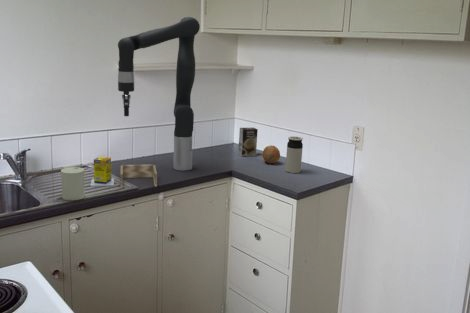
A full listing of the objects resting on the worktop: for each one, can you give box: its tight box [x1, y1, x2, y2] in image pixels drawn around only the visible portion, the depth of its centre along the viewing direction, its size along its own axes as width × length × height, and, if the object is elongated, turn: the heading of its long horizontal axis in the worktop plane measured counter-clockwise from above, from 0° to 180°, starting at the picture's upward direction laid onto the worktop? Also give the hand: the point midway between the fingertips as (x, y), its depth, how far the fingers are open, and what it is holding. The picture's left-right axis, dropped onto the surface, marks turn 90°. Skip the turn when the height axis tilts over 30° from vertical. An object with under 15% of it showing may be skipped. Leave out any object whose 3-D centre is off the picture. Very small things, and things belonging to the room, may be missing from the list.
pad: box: [90, 177, 115, 188], centre depth 220 cm, size 10×10×1 cm
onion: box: [261, 145, 281, 164], centre depth 267 cm, size 10×10×10 cm
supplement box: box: [93, 156, 112, 184], centre depth 219 cm, size 6×6×11 cm
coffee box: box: [237, 127, 258, 158], centre depth 281 cm, size 9×6×16 cm
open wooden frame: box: [120, 164, 158, 188], centre depth 224 cm, size 16×16×6 cm
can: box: [60, 166, 86, 201], centre depth 199 cm, size 9×9×12 cm
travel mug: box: [285, 136, 304, 174], centre depth 252 cm, size 8×8×18 cm
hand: (126, 114), depth 235 cm, fingers open, 8 cm apart
